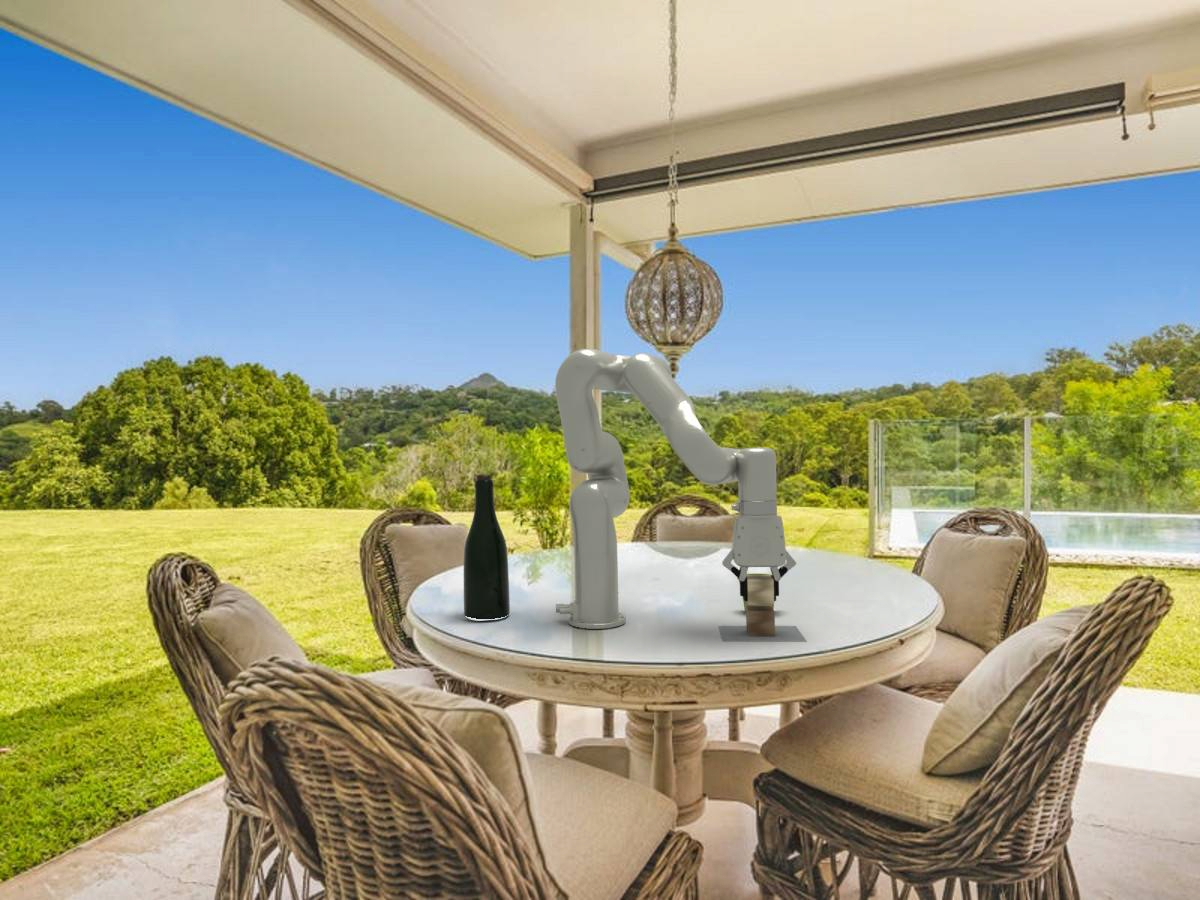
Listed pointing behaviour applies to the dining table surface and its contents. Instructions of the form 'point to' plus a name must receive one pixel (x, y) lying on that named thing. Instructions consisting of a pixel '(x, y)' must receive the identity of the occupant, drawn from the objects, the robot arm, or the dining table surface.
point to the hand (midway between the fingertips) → (759, 598)
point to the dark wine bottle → (485, 559)
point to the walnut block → (760, 621)
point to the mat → (742, 636)
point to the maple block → (760, 590)
